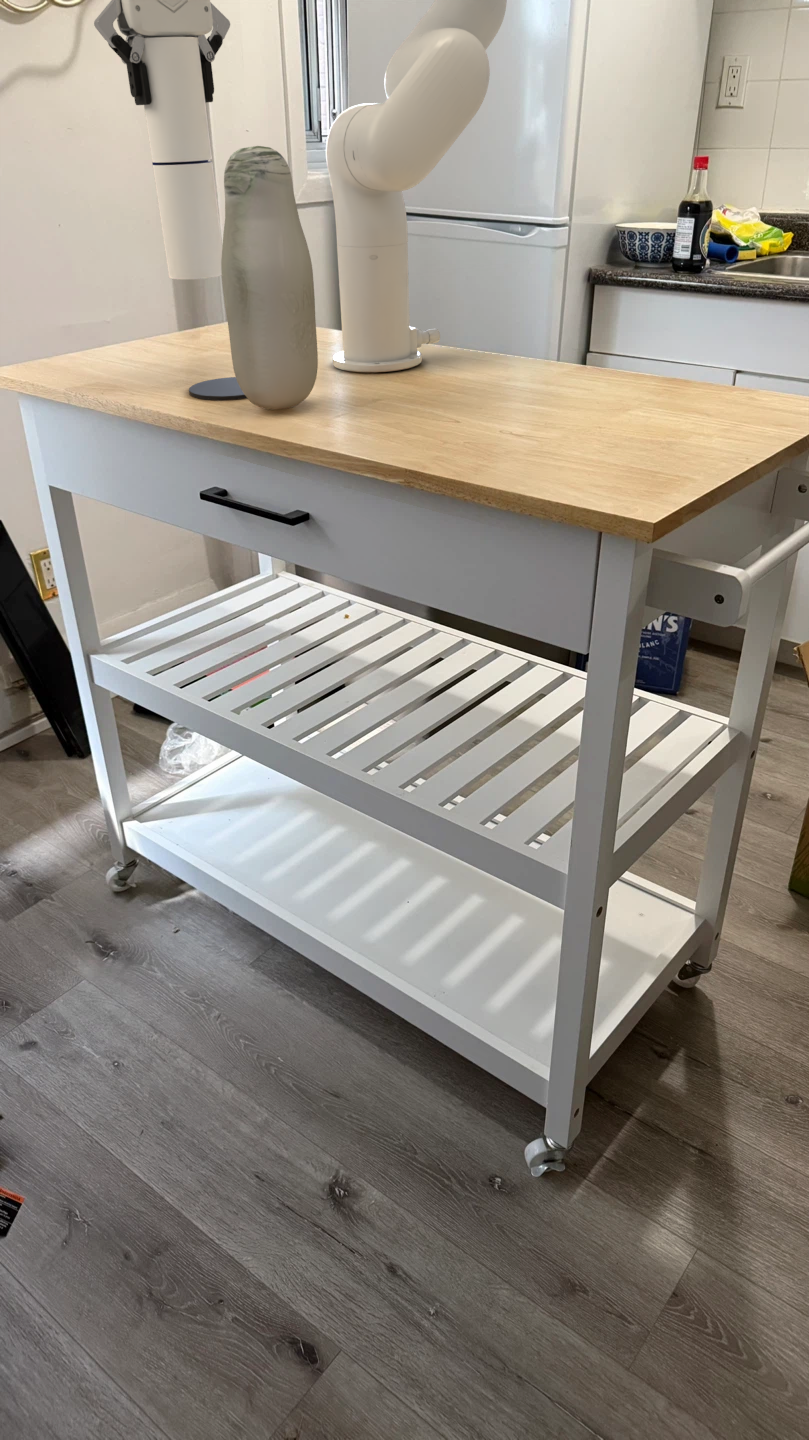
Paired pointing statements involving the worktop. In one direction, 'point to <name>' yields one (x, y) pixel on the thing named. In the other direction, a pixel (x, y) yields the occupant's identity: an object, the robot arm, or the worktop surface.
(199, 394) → the coaster
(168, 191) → the cylindrical container
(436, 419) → the worktop surface
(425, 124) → the robot arm
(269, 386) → the standing stone ornament
